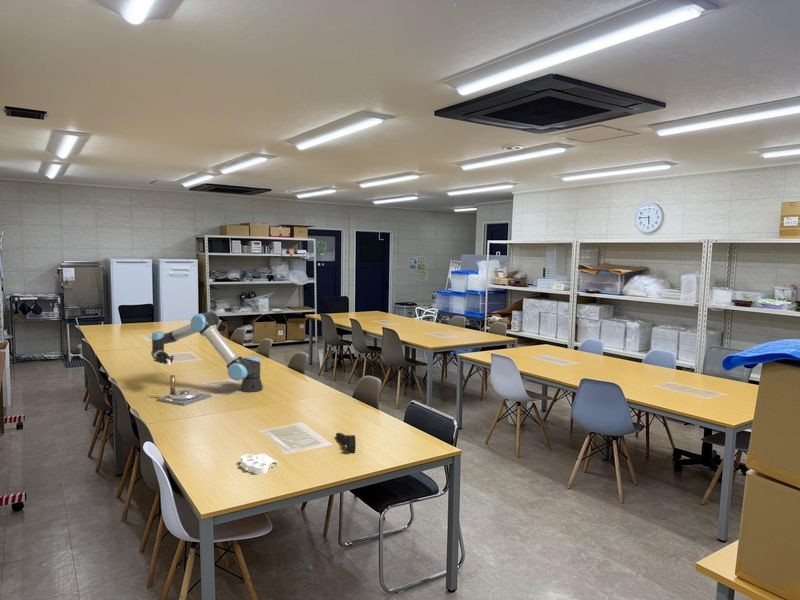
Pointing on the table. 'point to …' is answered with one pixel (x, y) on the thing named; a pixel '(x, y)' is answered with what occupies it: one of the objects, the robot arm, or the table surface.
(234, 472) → the table surface
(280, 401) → the table surface
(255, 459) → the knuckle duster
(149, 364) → the table surface
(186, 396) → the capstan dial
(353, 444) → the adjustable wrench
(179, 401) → the stand plate
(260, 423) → the table surface
